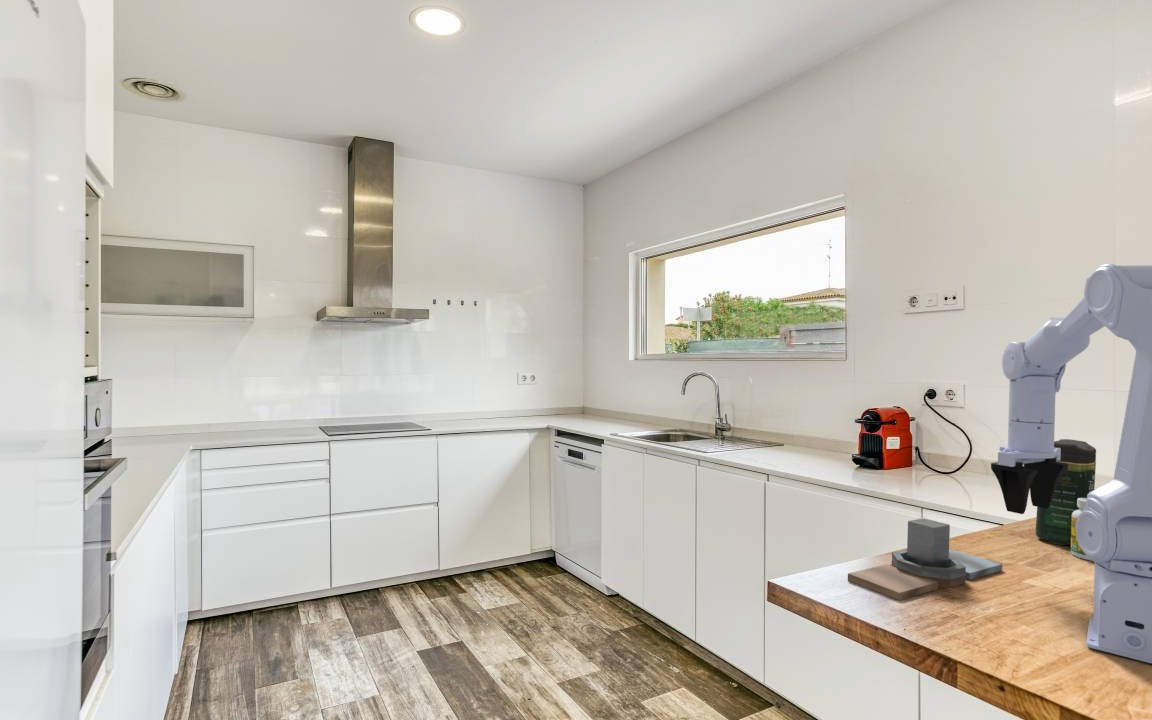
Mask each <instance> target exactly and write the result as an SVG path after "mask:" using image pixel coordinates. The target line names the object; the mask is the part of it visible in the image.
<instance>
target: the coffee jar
mask: <svg viewBox="0 0 1152 720" xmlns="http://www.w3.org/2000/svg"><path fill="white" fill-rule="evenodd" d="M1054 447H1055V448H1061V457H1060V460H1058V461H1056V462H1061V463H1067V464H1068V470H1067V471H1066V472H1065V473H1064V475H1063V476H1062V478H1061V479H1060V481H1059V483H1058V485H1057V488H1056V491H1055V494H1054V497H1053V500H1052V503H1051V506H1050V508H1048V509H1046V508H1042V507H1037V506H1036V507H1037V508H1036V521H1035V535H1036V537H1037V538H1039V539H1043V540H1045V541H1048V542H1050V543H1052V544H1054V545H1055V544H1056V545H1061V546H1066V545H1068V546H1071V522H1072V513H1073V512H1074V511H1075V510H1079V507H1077V499H1078V498H1087V495H1088V494H1089V493H1090V492H1092V491H1093V490H1095V489H1096V488H1095V487H1096V486H1095V483H1096V481H1095V480H1096V468H1097V467H1096V465H1097V461H1096V460H1097V449H1096V447H1094V446H1092V445H1091V444H1089V443H1088V442H1086V441H1083V440H1078V439H1067V438H1062V439H1059V440H1054Z"/></svg>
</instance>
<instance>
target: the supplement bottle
mask: <svg viewBox="0 0 1152 720" xmlns="http://www.w3.org/2000/svg"><path fill="white" fill-rule="evenodd" d="M1086 500H1087V498H1078V499H1077V507H1079V510H1075V511H1074V512H1073V513H1072V522H1071V545H1070V553H1071V555H1072V556H1074V557H1075V558H1079V559H1082V560H1085V561H1089V562H1093V561H1092V560H1090V559H1089V558H1088V556H1087V555H1086V554H1085V553H1084V552H1083V551H1082V549H1081V547H1080V546H1079V543H1078V541H1077V537H1076V522H1077V519H1078V517H1079V515H1080V514H1081V512H1082V511H1083V509H1084V507H1085V504H1086Z"/></svg>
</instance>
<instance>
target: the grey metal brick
mask: <svg viewBox="0 0 1152 720" xmlns="http://www.w3.org/2000/svg"><path fill="white" fill-rule="evenodd" d="M950 528H951V524H950V523H949V524H948V523H944V522H940V521H936V520H932V519H928V518H925V517H923V518H917V519H912V520H908V521H907V540H906V542H907V544H906V545H907V546H906V549H907V561H909V562H912V563H916V564H919V565H922V566H928V567H938V568H949V549H950V531H951V529H950Z"/></svg>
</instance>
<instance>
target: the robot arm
mask: <svg viewBox="0 0 1152 720" xmlns="http://www.w3.org/2000/svg"><path fill="white" fill-rule="evenodd" d="M1103 328H1107V329H1108V330H1109V331H1110V332H1111V333H1112V334H1113V335H1114V336H1116V337H1118V338H1121V339H1123V340H1126V341H1128V342H1129V343H1130V344H1131V345H1132V347H1133V348H1134V349H1135V356H1134V362H1133V367H1132V372H1131V373H1132V374H1131V379H1130V383H1129V389H1128V395H1127V401H1126V407H1125V412H1124V418H1123V423H1122V429H1121V433H1120V440H1119V446H1118V453H1117V456H1116V457H1117V458H1116V463H1115V469H1114V475H1113V479H1112V480H1110V481H1108V482H1107V483H1105V484H1103V485H1101V486H1099V487H1098V488H1097V487H1096V488H1094V490H1093V491H1092V492H1090V493H1089V494H1088V495H1087V500H1086V504H1085V507H1084V509H1083V511H1082V512H1081V514H1080V515H1079V517H1078V519H1077V522H1076V537H1077V541H1078V543H1079V546H1080V547H1081V549H1082V551H1083V552H1084V553H1085V554H1086V555H1087V556H1088V558H1089V559H1090V560H1092V561H1091V562H1094V572H1093V573H1094V579H1093V582H1094V583H1093V607H1092V608H1093V611H1092V618H1089V620H1088V621H1089V622H1088V627H1087V628H1088V629H1087V634H1086V642H1085V643H1086V644H1085V645H1086V646H1087V647H1088V648H1091V649H1092V650H1093V649H1094V650H1097V651H1102V652H1106V653H1109V654H1114V655H1116V656H1121V657H1125V658H1128V659H1131V660H1136V661H1141V662H1143V663H1147V664H1152V265H1151V264H1150V265H1149V264H1148V265H1140V264H1139V265H1133V264H1132V265H1131V264H1129V265H1116V264H1115V263H1113V264H1112V263H1106V264H1102V265H1100V266H1098V267H1097V268H1096V269H1095V270H1093V273H1092V274H1090V276H1089V277H1087V278H1086V280H1085V284H1084V290H1083V298H1082V299H1081V300H1080V301H1079V302H1078V303H1077V304H1076V305H1075V307H1073V309H1071V311H1070V312H1069V313H1068V314H1067V315H1066V316H1064V317H1062V316H1061V317H1051V318H1048V320H1047V321H1046V323H1045V324H1044V325H1042V326H1041V327H1039V329H1038V330H1037V331H1035V332H1034V333H1033V334H1032V335H1031V336H1030V337H1028V338H1027V339H1026V340H1025V341H1023V342H1022V341H1020V342H1018V341H1011V342H1009V343H1008V345H1006V347H1005V348H1004V350H1003V354H1002V358H1001V362H1002V363H1001V366H1002V368H1001V369H1002V371H1003V375H1004V376H1005V378H1006V379H1008V380H1009V384H1008V386H1009V387H1008V388H1009V391H1008V423H1007V424H1008V425H1007V426H1008V427H1007V445H1002V446H999V448H998V449H999V451H998V452H997V462H990V470H991V471H992V472H993V474H994V476H995V477H996V479H997V481H998V483H999V484H998V485H999V486H1000V489H1001V493H1002V496H1003V500H1004V505H1005V508H1006V511H1007V512H1011V513H1014V514H1019V515H1024V514H1025V512H1026V510H1027V505H1028V499H1029V495H1030V501H1031V504H1032V506H1033V507H1042V508H1046V509H1048V508H1050V506H1051V503H1052V500H1053V497H1054V494H1055V491H1056V488H1057V485H1058V483H1059V481H1060V479H1061V478H1062V476H1063V475H1064V473H1065V472H1066V471H1067V470H1068V464H1067V463H1061V462H1056V461H1058V460H1060V457H1061V448H1055V447H1054V441H1055V427H1056V426H1055V421H1056V420H1055V419H1056V393H1059V392H1060V389H1061V383H1062V380H1063V379H1062V378H1063V376H1064V374H1065V372H1066V367H1067V363H1069V362H1070V361H1072V360H1073V359H1074V358H1076V357H1078V356H1079V355H1080V354H1081V353H1082V352H1084V351H1086V349H1087V348H1088V347H1089V346H1090V342H1091V336H1092V335H1093V334H1095V333H1096V332H1099V331H1100V330H1101V329H1103ZM1029 493H1030V494H1029Z"/></svg>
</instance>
